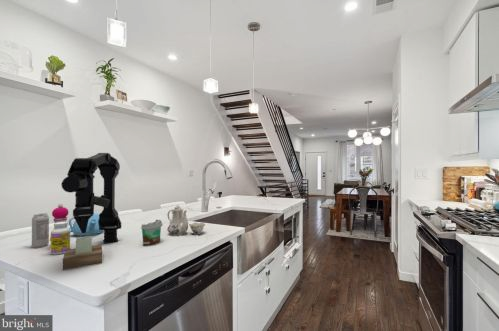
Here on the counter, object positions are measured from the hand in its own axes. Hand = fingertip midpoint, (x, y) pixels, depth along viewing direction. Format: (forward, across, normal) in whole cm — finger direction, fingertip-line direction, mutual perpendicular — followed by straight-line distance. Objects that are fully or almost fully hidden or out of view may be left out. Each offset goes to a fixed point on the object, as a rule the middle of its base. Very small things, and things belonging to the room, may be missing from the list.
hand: (84, 230), depth 94 cm
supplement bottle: (+12, +18, +9) cm, 23 cm away
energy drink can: (+12, +34, +18) cm, 40 cm away
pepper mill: (+12, +27, +10) cm, 31 cm away
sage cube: (+8, 0, 0) cm, 8 cm away
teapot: (+12, +46, -1) cm, 47 cm away
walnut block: (+12, 0, 0) cm, 12 cm away
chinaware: (+12, +22, -45) cm, 51 cm away
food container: (+12, +10, -28) cm, 32 cm away
